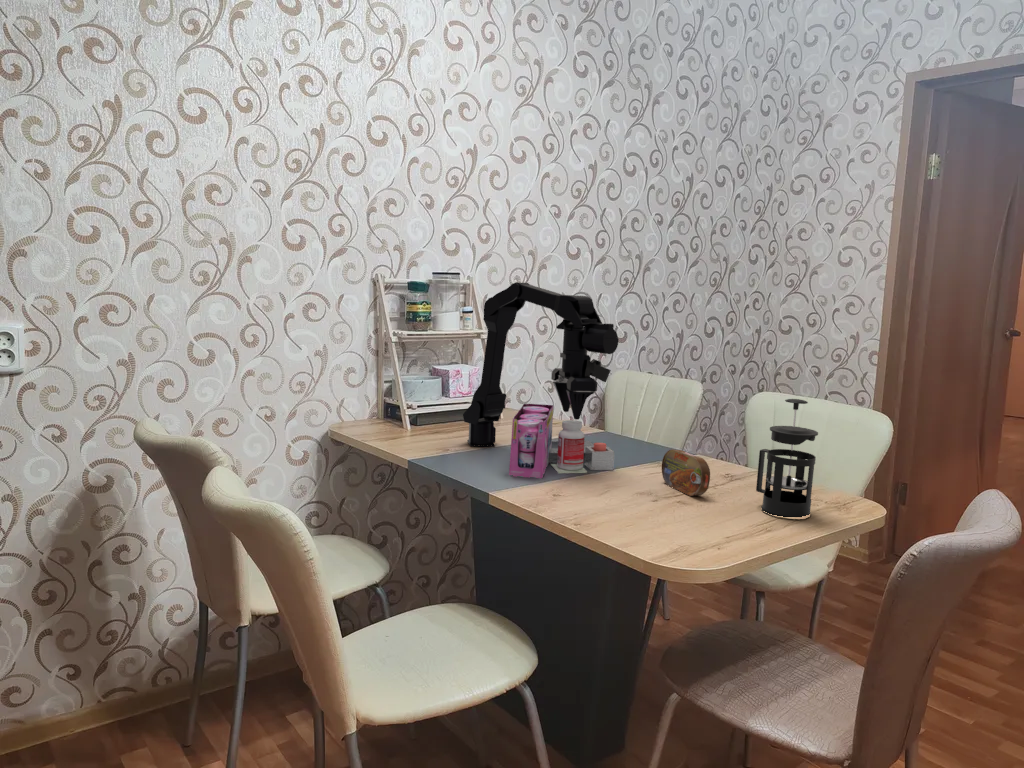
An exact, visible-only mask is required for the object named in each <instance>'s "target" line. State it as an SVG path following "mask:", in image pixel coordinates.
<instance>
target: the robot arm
mask: <svg viewBox="0 0 1024 768" xmlns="http://www.w3.org/2000/svg"><path fill="white" fill-rule="evenodd" d="M526 302H528V303H531V304H534V305H538V306H540V307H543V308H547V309H549V310H551V311H553V312H554V313H555V314H556V316H558V317H560V318H562V320H561V322H560V323H558V324H557V326H556V329H557V330H563V339H562V342H563V343H562V352H560V355H559V356H560V357H559V358H561V359H562V361H561V367H560V368H558V367H557V368H556V367H555V368H554V369H553V370H552V371H551V377H550V379H551V380H552V383H553V386H554V389H555V392H556V393H557V396H558V399H559V401H560V405H561V407H562V410H563V412H564V413H569V411H570V409H571V412H572V415H573V418H574V420H579V419H580V418H581V415H582V412H583V409H584V406H585V403H586V401H587V399H588V398H589V397H590V396H591V395H594V394H595V392H597V391H598V382H597V380H600V381H601V382H604V383H606V382H607V380H608V378H609V376H610V373H611V369H608V368H606V367H604V366H602V364H601V361H600V360H598V359H595V358H593V359H591V356H590V355H589V354H588V352H590V353H597V354H605V355H611V354H613V353H615V352H616V351H617V349H618V346H619V341H620V340H619V338H618V333H617V331H616V330H615V329H614V326H615V325H614V323H603V321H602V320H601V318H600V316H599V314H598V312H597V310H596V308H595V306H594V302H593V299H592V298H591V297H590V296H588V295H573V294H561V293H560V292H559V293H558V292H555V291H551V290H548V289H546V288H542V287H538V286H535V285H532V284H530V283H529V282H514V283H512V284H510V285H509V286H508V287H507V288H505V289H503V290H501V291H499V292H498V293H496V294H494V295H493V296H491V297H489V298H488V299H487V300H485V302H484V305H483V322H484V324H485V326H486V329H487V336H486V342H485V343H486V344H485V348H484V349H485V350H484V356H483V357H484V358H483V365H482V373H481V378H480V379H481V380H480V384H479V386H478V387H477V388H476V390H475V391H474V393H473V395H472V396H473V397H472V398H471V399H472V400H471V402H470V403H471V404H470V405H469V407H468V408H467V409H466V410H465V411H464V412H463V413H462V417H463V421H464V423H467V424H468V439H466V440H467V443H468V445H469V446H470V447H495V443H496V430H497V428H496V427H495V422H499V421H500V417H501V415H502V413H503V411H504V409H506V400H507V399H506V398H507V393H503V390H502V389H501V387H500V385H501V379H502V378H501V377H502V370H503V366H504V365H503V363H504V359H505V358H504V356H505V350H506V343H507V342H506V341H507V336H508V332H509V330H511V328H512V326H513V325H514V324H515V320H516V317H517V313H518V312H519V311H520V310H521V309H523V308H524V307H525V305H526ZM595 379H597V380H595Z"/></svg>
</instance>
